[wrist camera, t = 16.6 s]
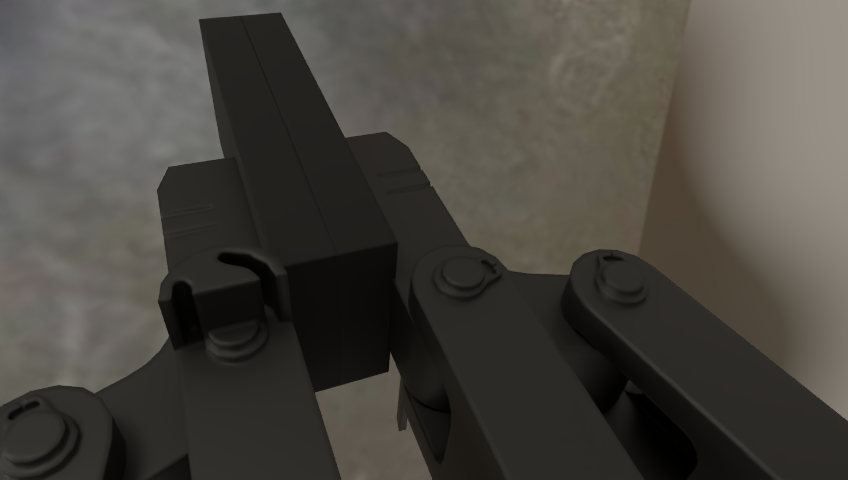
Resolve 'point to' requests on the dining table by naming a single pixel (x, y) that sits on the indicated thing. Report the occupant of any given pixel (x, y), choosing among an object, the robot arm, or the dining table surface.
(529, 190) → the dining table surface
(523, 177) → the dining table surface
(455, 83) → the dining table surface
